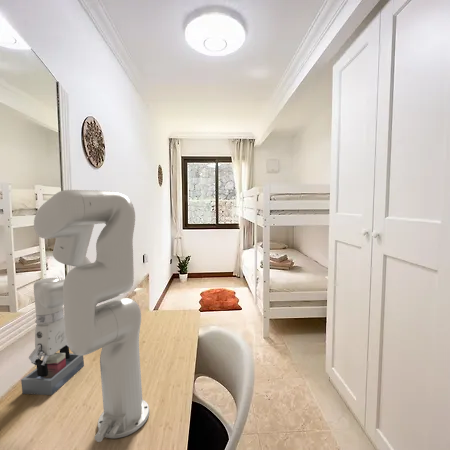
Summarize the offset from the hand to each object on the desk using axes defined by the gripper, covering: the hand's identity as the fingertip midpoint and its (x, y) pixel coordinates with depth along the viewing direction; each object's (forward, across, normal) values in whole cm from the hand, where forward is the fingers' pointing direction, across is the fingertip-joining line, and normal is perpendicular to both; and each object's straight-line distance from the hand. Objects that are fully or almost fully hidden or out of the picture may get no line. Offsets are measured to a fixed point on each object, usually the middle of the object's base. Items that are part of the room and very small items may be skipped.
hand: (54, 366), depth 88 cm
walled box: (+4, 0, 0) cm, 4 cm away
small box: (+4, 0, 0) cm, 4 cm away
